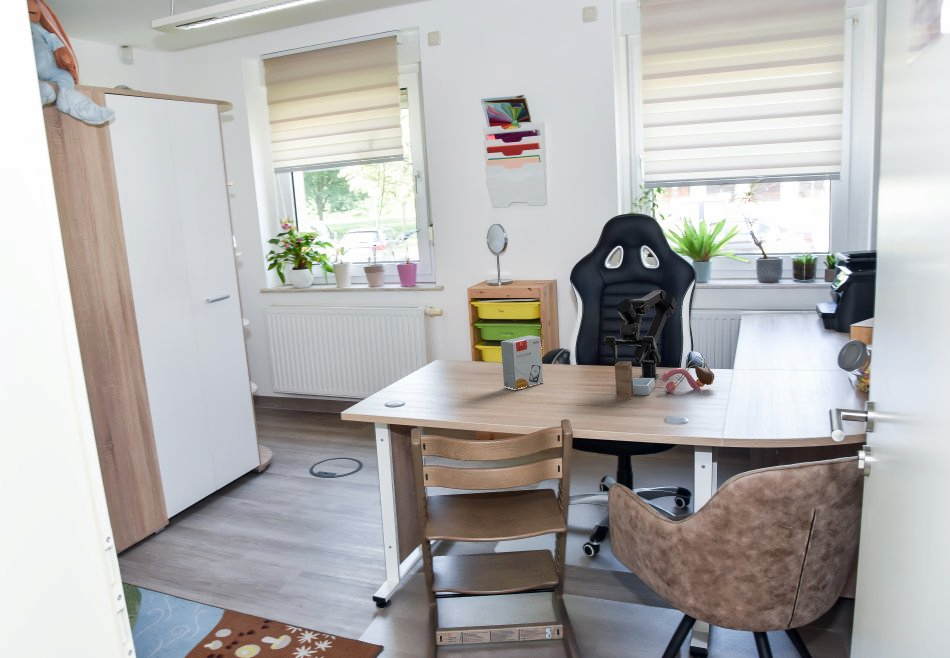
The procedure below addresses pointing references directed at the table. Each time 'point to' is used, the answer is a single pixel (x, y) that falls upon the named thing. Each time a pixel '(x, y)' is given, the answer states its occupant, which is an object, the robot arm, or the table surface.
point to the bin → (643, 385)
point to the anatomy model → (690, 377)
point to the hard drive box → (522, 361)
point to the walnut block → (624, 380)
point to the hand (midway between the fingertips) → (626, 362)
